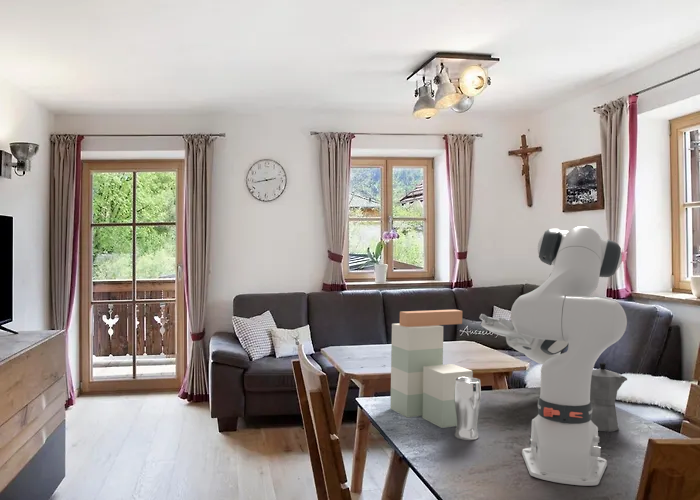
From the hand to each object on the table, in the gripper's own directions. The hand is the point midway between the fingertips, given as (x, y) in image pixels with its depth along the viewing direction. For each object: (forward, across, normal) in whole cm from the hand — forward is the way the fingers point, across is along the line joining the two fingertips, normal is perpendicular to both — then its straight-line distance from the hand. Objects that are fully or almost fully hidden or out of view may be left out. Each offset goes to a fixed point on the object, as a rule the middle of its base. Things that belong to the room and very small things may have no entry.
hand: (490, 317), depth 189 cm
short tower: (+9, +12, +35) cm, 38 cm away
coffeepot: (-24, +32, +18) cm, 44 cm away
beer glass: (+11, +26, +37) cm, 46 cm away
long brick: (+19, 0, +12) cm, 23 cm away
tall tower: (+11, 0, +37) cm, 39 cm away
